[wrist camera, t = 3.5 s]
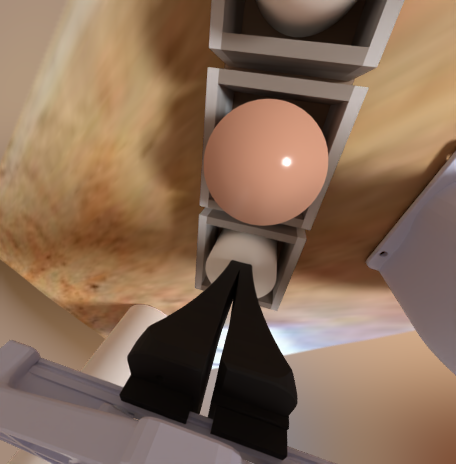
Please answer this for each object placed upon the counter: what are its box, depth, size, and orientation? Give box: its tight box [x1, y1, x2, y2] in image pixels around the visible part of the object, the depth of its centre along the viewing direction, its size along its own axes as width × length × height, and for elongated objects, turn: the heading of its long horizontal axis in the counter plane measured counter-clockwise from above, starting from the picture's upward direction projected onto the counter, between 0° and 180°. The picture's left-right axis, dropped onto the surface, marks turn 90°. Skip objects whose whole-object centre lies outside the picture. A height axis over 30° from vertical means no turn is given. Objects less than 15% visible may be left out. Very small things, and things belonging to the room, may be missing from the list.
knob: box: [206, 228, 278, 298], centre depth 14 cm, size 5×5×4 cm
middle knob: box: [204, 99, 328, 226], centre depth 9 cm, size 5×5×4 cm
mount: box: [195, 0, 404, 311], centre depth 12 cm, size 21×7×4 cm, turn 173°
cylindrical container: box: [7, 304, 167, 464], centre depth 17 cm, size 7×7×25 cm
